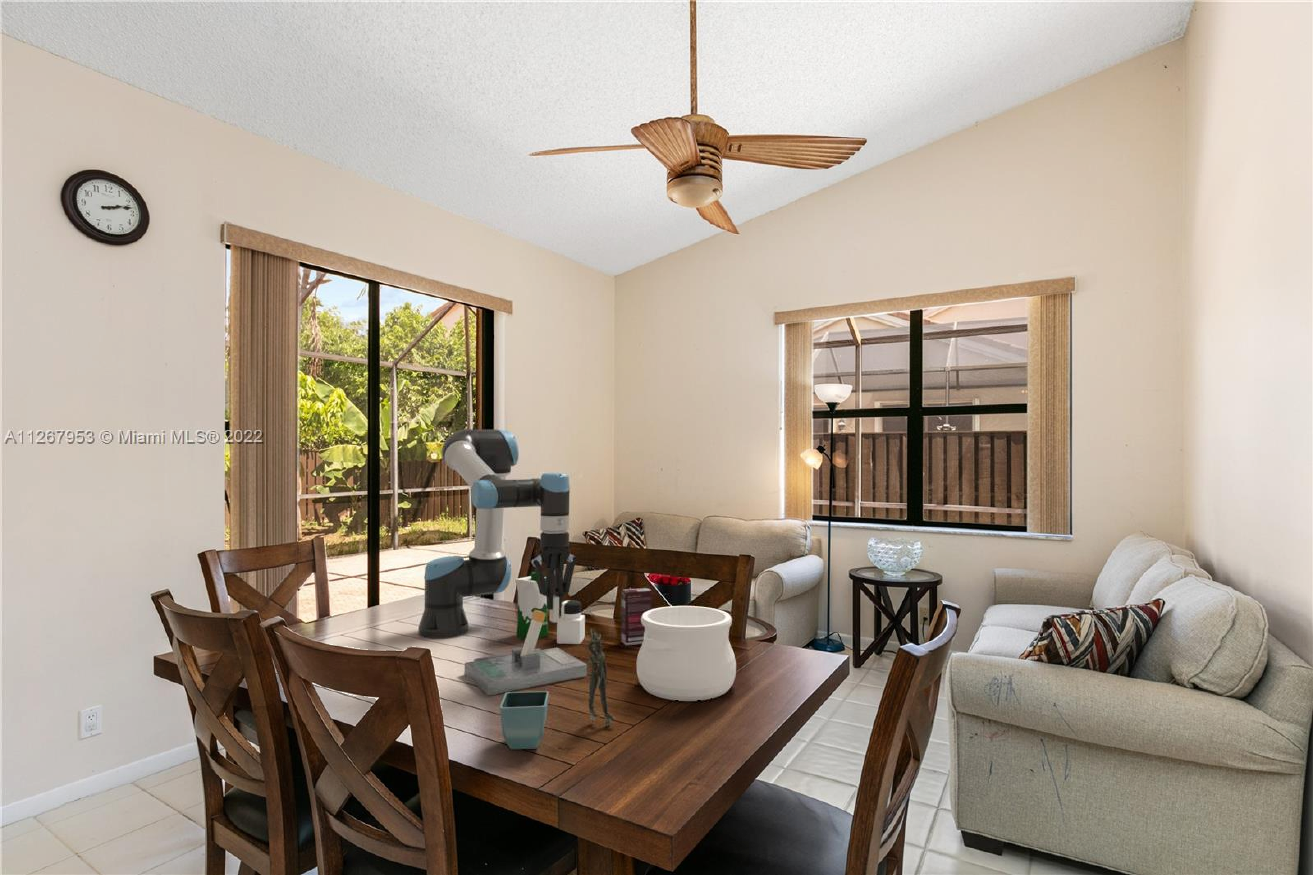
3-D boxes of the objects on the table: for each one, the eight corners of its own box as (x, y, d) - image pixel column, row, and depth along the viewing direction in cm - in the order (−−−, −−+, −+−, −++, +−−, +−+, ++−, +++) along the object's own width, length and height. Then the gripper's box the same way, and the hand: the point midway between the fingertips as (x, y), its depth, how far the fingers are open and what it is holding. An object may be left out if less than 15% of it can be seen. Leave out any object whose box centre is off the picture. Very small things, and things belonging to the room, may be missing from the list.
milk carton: (532, 641, 209) (532, 575, 209) (511, 637, 214) (512, 572, 214) (552, 635, 216) (553, 571, 216) (532, 631, 221) (532, 568, 221)
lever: (518, 658, 179) (533, 609, 181) (525, 659, 180) (540, 610, 182) (524, 662, 175) (540, 612, 178) (531, 663, 176) (546, 614, 179)
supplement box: (647, 639, 212) (647, 587, 213) (652, 643, 208) (652, 590, 208) (620, 641, 209) (620, 589, 210) (625, 645, 205) (625, 592, 205)
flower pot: (504, 736, 140) (505, 691, 140) (548, 734, 141) (549, 690, 141) (498, 755, 131) (499, 707, 132) (545, 753, 132) (545, 706, 132)
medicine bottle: (585, 638, 213) (585, 599, 213) (580, 644, 206) (580, 604, 206) (562, 637, 214) (562, 598, 214) (556, 643, 207) (556, 603, 207)
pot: (686, 664, 187) (686, 599, 188) (758, 686, 170) (758, 615, 170) (613, 687, 169) (613, 615, 169) (686, 715, 152) (686, 635, 152)
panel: (464, 674, 178) (464, 651, 178) (557, 658, 192) (557, 636, 192) (488, 695, 163) (488, 670, 163) (586, 676, 177) (586, 652, 177)
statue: (607, 733, 142) (607, 635, 142) (582, 726, 145) (582, 631, 145) (619, 725, 146) (620, 629, 146) (594, 719, 149) (595, 626, 149)
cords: (468, 668, 183) (468, 658, 183) (540, 656, 194) (541, 646, 194) (473, 673, 179) (473, 662, 179) (547, 660, 190) (547, 650, 190)
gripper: (537, 534, 176) (536, 627, 175) (583, 531, 183) (582, 620, 183) (526, 531, 182) (525, 621, 182) (570, 528, 189) (570, 615, 189)
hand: (554, 621), depth 182 cm, fingers closed
